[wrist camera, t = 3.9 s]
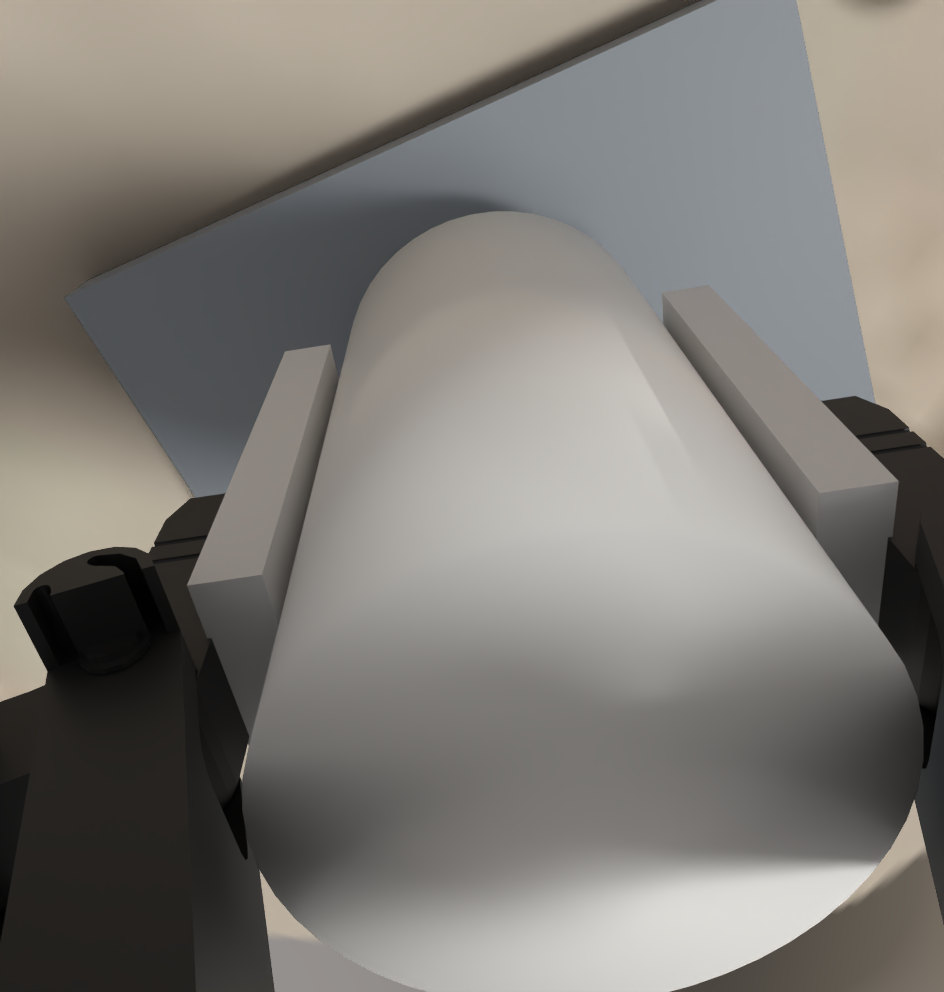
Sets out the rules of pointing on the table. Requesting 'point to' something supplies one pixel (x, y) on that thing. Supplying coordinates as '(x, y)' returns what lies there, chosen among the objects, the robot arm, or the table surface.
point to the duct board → (522, 188)
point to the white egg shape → (560, 651)
